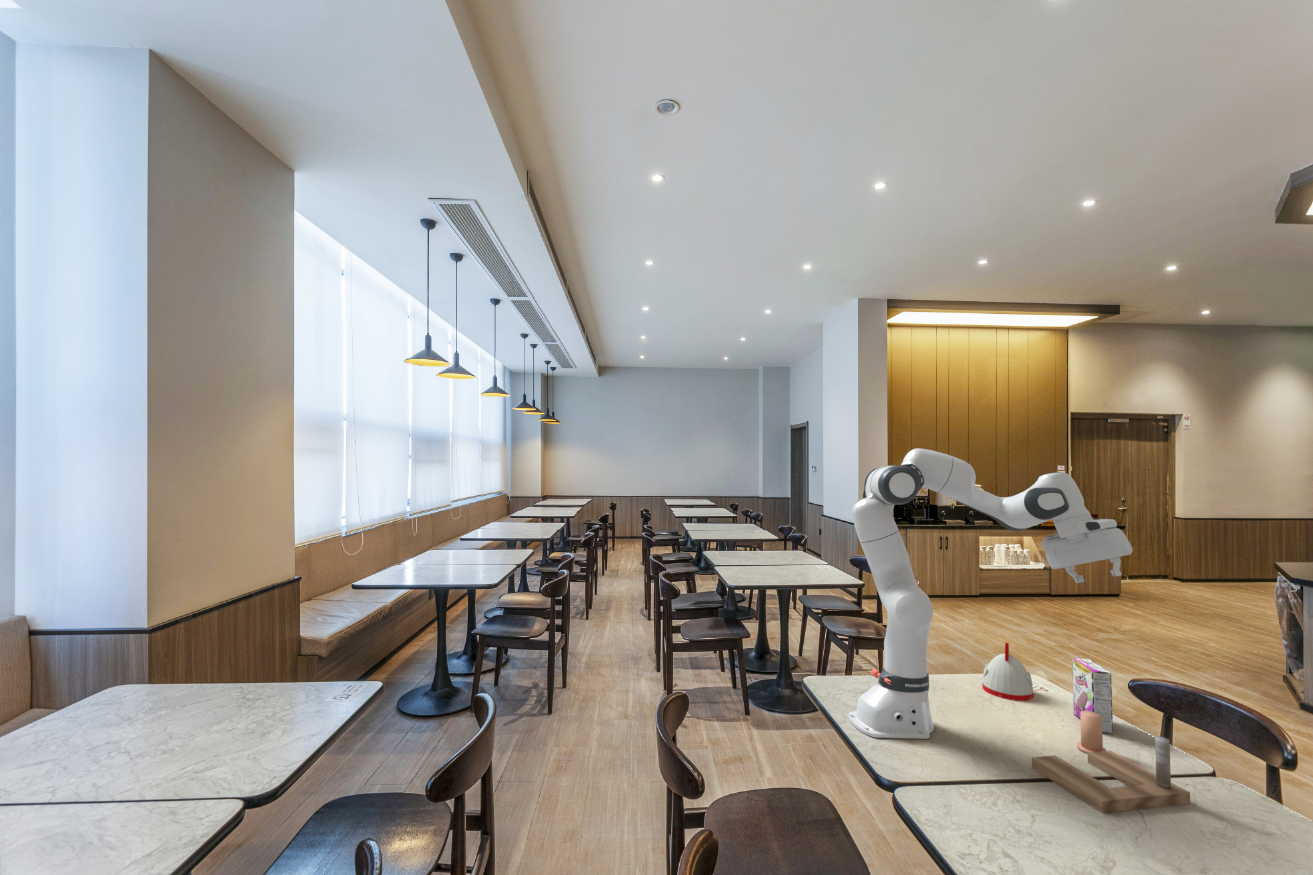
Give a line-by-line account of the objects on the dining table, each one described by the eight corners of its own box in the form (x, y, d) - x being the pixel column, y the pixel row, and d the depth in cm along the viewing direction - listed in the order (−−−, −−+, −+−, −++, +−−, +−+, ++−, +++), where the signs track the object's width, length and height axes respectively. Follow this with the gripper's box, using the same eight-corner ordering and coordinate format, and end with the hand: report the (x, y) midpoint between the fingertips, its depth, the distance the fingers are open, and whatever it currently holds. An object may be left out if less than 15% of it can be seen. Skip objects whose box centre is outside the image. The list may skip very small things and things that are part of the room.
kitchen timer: (1033, 689, 186) (1032, 642, 186) (1033, 704, 174) (1033, 654, 175) (983, 680, 193) (983, 635, 194) (981, 694, 182) (980, 645, 182)
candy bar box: (1072, 714, 167) (1071, 657, 168) (1091, 716, 166) (1090, 658, 167) (1093, 732, 156) (1091, 670, 157) (1114, 734, 155) (1112, 672, 156)
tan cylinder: (1092, 757, 143) (1091, 720, 143) (1071, 745, 148) (1070, 710, 149) (1113, 755, 144) (1112, 718, 144) (1091, 744, 149) (1090, 708, 150)
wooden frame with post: (1102, 812, 120) (1100, 751, 120) (1032, 767, 137) (1031, 714, 138) (1190, 803, 123) (1188, 744, 124) (1110, 760, 141) (1109, 709, 142)
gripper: (1033, 538, 166) (1053, 587, 161) (1109, 520, 149) (1133, 573, 144) (1046, 537, 169) (1066, 584, 164) (1121, 518, 152) (1146, 570, 147)
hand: (1098, 579), depth 154 cm, fingers open, 8 cm apart
